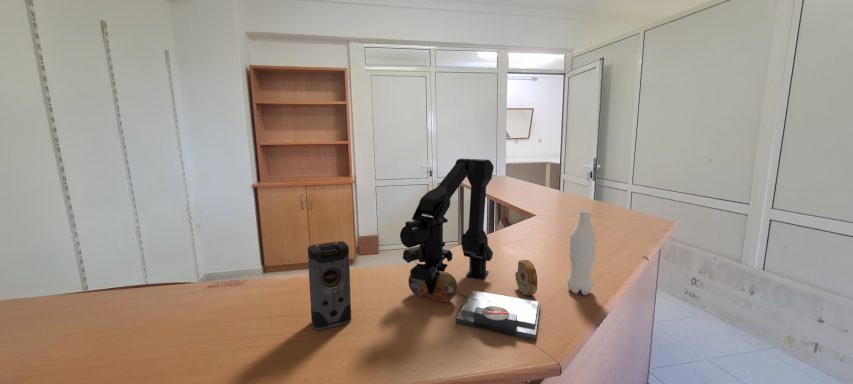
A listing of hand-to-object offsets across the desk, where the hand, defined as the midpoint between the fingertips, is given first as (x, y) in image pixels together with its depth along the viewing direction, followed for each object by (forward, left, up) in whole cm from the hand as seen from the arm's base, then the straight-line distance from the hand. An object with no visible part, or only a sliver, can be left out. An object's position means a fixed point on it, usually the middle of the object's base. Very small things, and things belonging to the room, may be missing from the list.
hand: (432, 291), depth 96 cm
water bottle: (-21, +40, -2) cm, 45 cm away
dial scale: (+3, +20, -2) cm, 20 cm away
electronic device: (+22, -19, -2) cm, 29 cm away
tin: (0, 0, -2) cm, 2 cm away
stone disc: (-14, +25, -2) cm, 29 cm away
